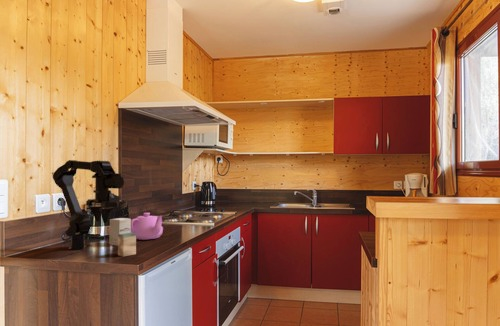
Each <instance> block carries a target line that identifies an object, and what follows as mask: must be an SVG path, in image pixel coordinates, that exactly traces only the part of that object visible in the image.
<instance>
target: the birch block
mask: <svg viewBox="0 0 500 326" xmlns="http://www.w3.org/2000/svg"><path fill="white" fill-rule="evenodd" d="M136 254H137V239H136V233H131V232H130V233H123V234H118V246H117V256H120V257H127V256H133V255H136Z"/></svg>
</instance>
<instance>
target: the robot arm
mask: <svg viewBox="0 0 500 326" xmlns="http://www.w3.org/2000/svg"><path fill="white" fill-rule="evenodd" d="M77 170H85V171H87V170H88V171H90V172H92V173H94V174H93V175H92V176H91V178H92V179H94V181H95V183H94V184H95V185H94V186H95V187H94V189H95V190H93V193H94V198H91V199H87V200H86V202H85V205H86V207H87V206H88V208H89V210H90V211H91V213H92V214H93V216H94V219H95V221H96V222H97V223H99V222H100V221H101V220H102V222H103V224H107V222H108V219H109V216H110V214H111V211H113V210H114V209H115V208H119V204H120V202H121V199H122V196H119V195H117V194H115V193H113V192H112V191H111V190H110V189H122V188H123V187H124V185H125V180H124V178H123V176H122V173H120V172H119V173H116V170H114V168H113V165H112V163H111V162H110V161H109V160H93V161H81V160H80V161H79V160H74V159H70V160H67V161H66V162H64V164H63V165H61V166H59V167H57V169H56V170H55V171H54V172H53V173H52V180H53V181H54V184H55V185H56V186H58V188H59V189H61V192H62V194H63V197H64V200H65V203H66V206H67V208H68V212H69V214H70V218H69V227H68V229H66V230H65V234H66V237H70V247H68V250H83V249H85V248H86V247H87V245H85V235H89V233H90V230H91V226H92V223H91V222H92V220H91V219H90V215H89V214H88V213H86V214H85V213H84V212H83V210H82V208H81V205H80V202H79V200H78V197H77V195H76V192H75V189H74V186H73V185H74V181H75V179H74V176H76V174H77Z"/></svg>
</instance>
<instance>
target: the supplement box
mask: <svg viewBox="0 0 500 326" xmlns="http://www.w3.org/2000/svg"><path fill="white" fill-rule="evenodd" d="M131 220H132V219H131V218H127V217H119V218H110V219H109V235H108V236H109V238H108V239H109V241H108V242H109V245H112V246H117V247H118V234H123V233H130V232H131Z"/></svg>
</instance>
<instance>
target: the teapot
mask: <svg viewBox="0 0 500 326" xmlns="http://www.w3.org/2000/svg"><path fill="white" fill-rule="evenodd" d="M150 214H151V212H143V215H138V216H137V217H136V218H132V219H131V233H136V240H142V241H148V240H154V239H158V238H160V237H161V236H162V234H163V231H164V227H163V226H162V224H163V219H162V217H163V215H150Z"/></svg>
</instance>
